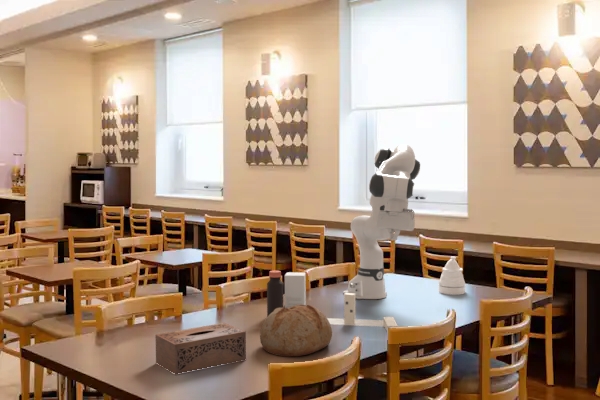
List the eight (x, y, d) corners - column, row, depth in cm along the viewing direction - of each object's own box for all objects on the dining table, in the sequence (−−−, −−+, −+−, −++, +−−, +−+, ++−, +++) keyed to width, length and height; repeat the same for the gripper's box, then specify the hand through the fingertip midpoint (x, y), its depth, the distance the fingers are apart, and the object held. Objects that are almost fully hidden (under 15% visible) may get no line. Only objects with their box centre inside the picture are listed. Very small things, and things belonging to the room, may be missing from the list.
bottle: (269, 321, 276) (268, 273, 274) (265, 317, 282) (265, 270, 281) (285, 320, 278) (285, 272, 276) (281, 316, 284) (281, 269, 283)
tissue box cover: (175, 376, 208) (174, 344, 207) (155, 364, 220) (155, 334, 219) (246, 360, 223) (245, 331, 223) (224, 350, 235) (224, 322, 234)
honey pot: (467, 294, 328) (468, 258, 327) (441, 294, 328) (441, 258, 327) (461, 289, 341) (462, 254, 339) (436, 289, 341) (437, 254, 340)
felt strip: (305, 324, 271) (305, 323, 270) (308, 318, 280) (308, 317, 280) (394, 328, 264) (394, 327, 264) (395, 321, 274) (395, 320, 274)
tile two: (345, 322, 272) (345, 293, 272) (355, 322, 271) (355, 293, 271) (344, 324, 269) (344, 294, 268) (353, 324, 268) (354, 295, 267)
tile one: (383, 317, 268) (387, 326, 256) (393, 316, 268) (397, 325, 256) (383, 324, 268) (387, 334, 256) (393, 324, 268) (397, 334, 256)
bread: (298, 334, 256) (298, 295, 255) (345, 346, 240) (346, 305, 239) (247, 349, 237) (247, 307, 236) (295, 362, 221) (295, 318, 220)
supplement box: (306, 304, 307) (306, 272, 306) (304, 308, 298) (304, 275, 297) (286, 304, 308) (286, 271, 307) (284, 308, 299) (284, 275, 298)
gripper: (419, 210, 283) (415, 242, 282) (386, 208, 300) (382, 239, 298) (409, 208, 279) (405, 240, 278) (376, 206, 296) (371, 237, 295)
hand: (393, 240), depth 288 cm, fingers closed
